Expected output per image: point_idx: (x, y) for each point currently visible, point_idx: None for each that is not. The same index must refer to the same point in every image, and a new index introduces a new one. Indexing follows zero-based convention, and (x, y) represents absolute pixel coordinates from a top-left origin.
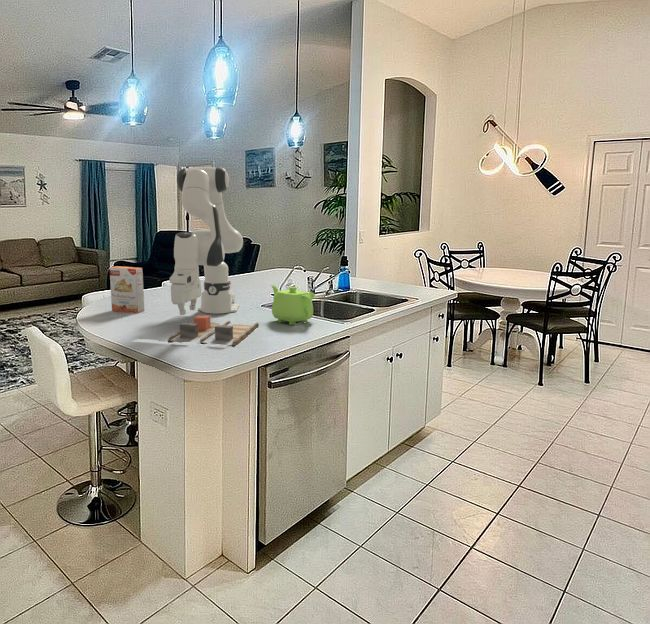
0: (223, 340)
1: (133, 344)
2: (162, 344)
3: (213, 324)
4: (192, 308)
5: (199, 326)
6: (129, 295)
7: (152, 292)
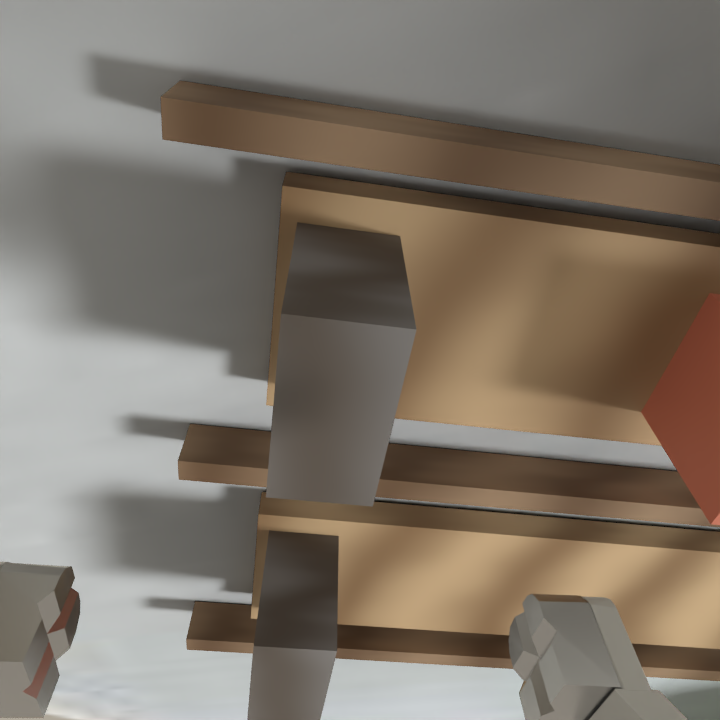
0: (257, 576)
1: None
2: (67, 10)
3: None
4: (527, 654)
5: (697, 377)
6: None
7: None
